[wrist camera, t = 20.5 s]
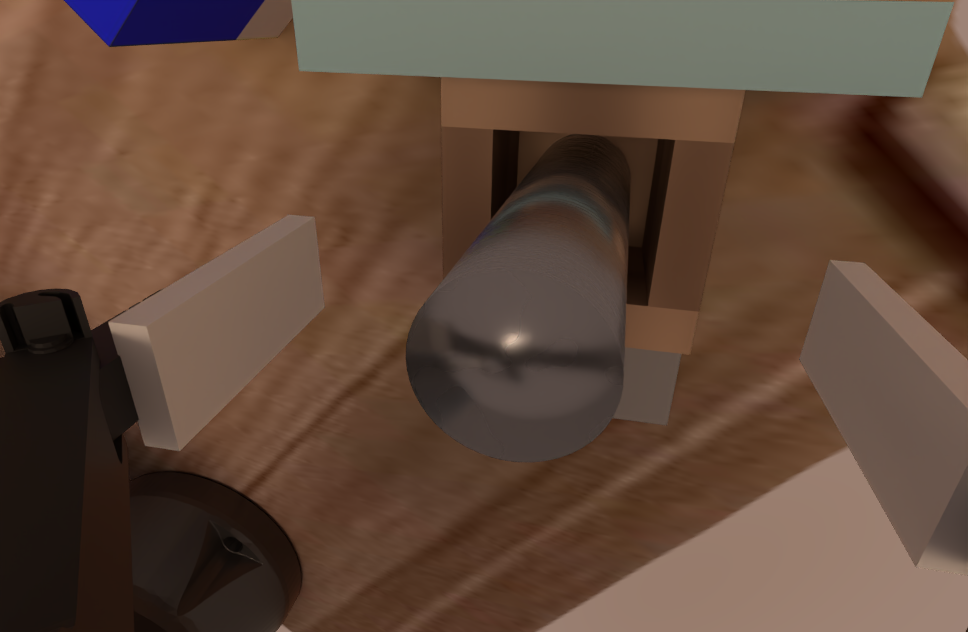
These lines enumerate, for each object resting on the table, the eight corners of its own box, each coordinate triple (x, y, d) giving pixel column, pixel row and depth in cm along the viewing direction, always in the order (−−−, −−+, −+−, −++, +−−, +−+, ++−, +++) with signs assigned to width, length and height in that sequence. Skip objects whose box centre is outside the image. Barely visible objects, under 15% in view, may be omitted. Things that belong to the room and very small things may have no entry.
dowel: (538, 129, 24) (403, 257, 10) (637, 136, 24) (639, 283, 9) (531, 223, 26) (408, 443, 12) (623, 232, 25) (608, 478, 11)
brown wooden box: (481, 259, 28) (443, 326, 22) (485, 56, 24) (440, 69, 18) (673, 278, 27) (690, 354, 21) (712, 64, 23) (747, 81, 17)
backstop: (420, 386, 33) (349, 517, 25) (407, 0, 25) (290, -10, 16) (715, 426, 31) (754, 589, 22) (819, 9, 22) (954, 2, 13)
